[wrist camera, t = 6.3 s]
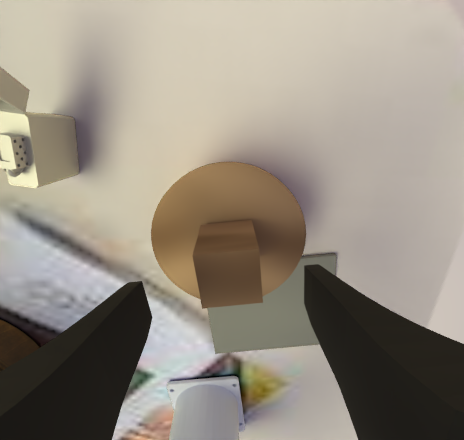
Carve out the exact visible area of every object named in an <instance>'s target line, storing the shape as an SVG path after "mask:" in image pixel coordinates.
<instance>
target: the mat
mask: <svg viewBox="0 0 464 440" xmlns="http://www.w3.org/2000/svg"><path fill="white" fill-rule="evenodd" d="M336 256H337V255H336V254H335V253H331V254H321V255H311V256H301V259H300V261H299V263H298V265H297V267H296V269H295V270H294V271H293V273H292V274H291V275H290V277H289V278H288V279H287V280H286V281H285V282H284V283H283V284H281V285H280V286H279V287H278V288H276V289H275V290H273V291H272V292H270V293H268V294H266V295H264V296H263V303H255V304H244V305H234V306H224V307H213V308H207V309H208V315H209V320H210V326H211V331H212V337H213V342H214V348H215V354H218V353H229V352H240V351H251V350H262V349H273V348H284V347H295V346H307V345H318V344H320V343H319V341H318V339H317V337H316V335H315V332H314V330H313V328H312V326H311V323H310V320H309V317H308V314H307V311H306V308H305V305H304V265H315V264H319V265H320V266H322V267H323V268H325V269H326V270H328V271H329V272H331V273H332V274H333V275H335V272H336Z"/></svg>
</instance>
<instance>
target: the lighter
mask: <svg viewBox="0 0 464 440" xmlns="http://www.w3.org/2000/svg"><path fill="white" fill-rule="evenodd" d="M29 91H30V90H29V89H27V88H26V87H25V86H24V85H22V84H21V83H20V82H19V81H17V80H16V79H15V78H14V77H12V76H11V75H10V74H9V73H7V72H6V71H5V70H4V69H2V68H1V67H0V168H1V169H3V170H4V171H5V172H6V173H7V178H8V182H9V183H10V184H11V185H16V186H24V187H31V188H38V187H41V186H44V185H47V184H50V183H53V182H56V181H59V180H62V179H65V178H69V177H72V176H75V175H78V174H79V162H78V150H77V139H76V128H75V120H74V119H73V117H69V116H63V115H56V114H46V113H31V112H25V111H26V106H27V101H28V96H29Z"/></svg>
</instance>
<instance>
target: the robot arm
mask: <svg viewBox="0 0 464 440" xmlns="http://www.w3.org/2000/svg"><path fill="white" fill-rule="evenodd" d="M304 305H305V308H306V311H307V314H308V317H309V320H310V323H311V326H312V328H313V330H314V332H315V335H316V337H317V339H318V341H319V343H320V345H321V348H322V350H323V352H324V354H325V356H326V358H327V360H328V362H329V365H330V367H331V369H332V371H333V373H334V375H335V378H336V380H337V382H338V385H339V387H340V389H341V392H342V395H343V398H344V400H345V403H346V406H347V409H348V411H349V414H350V417H351V420H352V423H353V425H354V428H355V431H356V434H357V437H358V440H464V344H462V343H460V342H457V341H454V340H452V339H450V338H447V337H445V336H442V335H440V334H438V333H436V332H434V331H431V330H429V329H427V328H425V327H422V326H420V325H418V324H416V323H414V322H412V321H410V320H408V319H406V318H404V317H402V316H400V315H398V314H396V313H394V312H392V311H390V310H389V309H387V308H385V307H383V306H381V305H380V304H378V303H376V302H375V301H373V300H371V299H370V298H368V297H366V296H365V295H363V294H362V293H360V292H358V291H357V290H355V289H354V288H352V287H351V286H349V285H348V284H346V283H345V282H343V281H342V280H341V279H339V278H338V277H336V276H335V275H333V274H332V273H331V272H329V271H328V270H326V269H325V268H323V267H322V266H320V265H319V264H315V265H304ZM151 321H152V315H151V311H150V308H149V304H148V301H147V297H146V294H145V290H144V287H143V283H142V281H139V282H129V283H127V284H126V285H124V286H123V287H121V288H120V289H119V290H117V291H116V292H115V293H114V294H112V295H111V296H110V297H109V298H107V299H106V300H105V301H104V302H102V303H101V304H100V305H98V306H97V307H96V308H95V309H93V310H92V311H91V312H90V313H88V314H87V315H86V316H84V317H83V318H82V319H80V320H79V321H78V322H76V323H75V324H73V325H72V326H71V327H69V328H68V329H67V330H65V331H64V332H63V333H61V334H60V335H58V336H57V337H55V338H54V339H52V340H51V341H50V342H48V343H47V344H45V345H43V346H42V347H40V348H39V349H37V350H36V351H34V352H33V353H31V354H29V355H28V356H26V357H24V358H23V359H21V360H19V361H18V362H16V363H14V364H12V365H11V366H9V367H7V368H5V369H4V370H2V371H0V440H112V437H113V433H114V430H115V426H116V423H117V419H118V416H119V413H120V409H121V406H122V403H123V400H124V398H125V395H126V392H127V390H128V387H129V384H130V382H131V379H132V377H133V374H134V372H135V369H136V367H137V364H138V361H139V359H140V356H141V354H142V351H143V348H144V346H145V343H146V340H147V337H148V333H149V329H150V325H151ZM167 390H168V393H169V397H170V400H171V403H172V407H173V410H174V415H173V420H172V426H171V431H170V436H169V440H239V432H241V431H244V430H245V423H244V415H243V408H242V401H241V394H240V386H239V379H238V377H236V376H227V377H216V378H204V379H193V380H182V381H171V382H168V384H167Z"/></svg>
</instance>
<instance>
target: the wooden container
mask: <svg viewBox="0 0 464 440" xmlns="http://www.w3.org/2000/svg"><path fill="white" fill-rule="evenodd" d="M39 348H40V347H39V346H38V345H37V344H36V343H35V342H34V341H33V340H32V339H31V338H30V337H29V336H27V335H26V334H25V333H23V332H22V331H20V330H19V329H18V328H16V327H14V326H13V325H11V324H9V323H7V322H5V321H2V320H0V371H2V370H4V369H5V368H7V367H9V366H11V365H12V364H14V363H16V362H18V361H19V360H21V359H23V358H24V357H26V356H28V355H29V354H31V353H33V352H34V351H36V350H37V349H39Z"/></svg>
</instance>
